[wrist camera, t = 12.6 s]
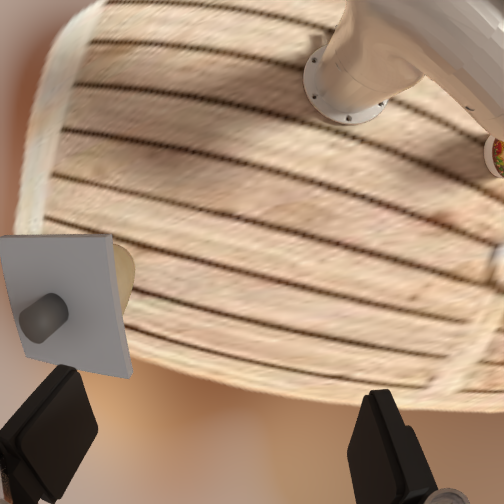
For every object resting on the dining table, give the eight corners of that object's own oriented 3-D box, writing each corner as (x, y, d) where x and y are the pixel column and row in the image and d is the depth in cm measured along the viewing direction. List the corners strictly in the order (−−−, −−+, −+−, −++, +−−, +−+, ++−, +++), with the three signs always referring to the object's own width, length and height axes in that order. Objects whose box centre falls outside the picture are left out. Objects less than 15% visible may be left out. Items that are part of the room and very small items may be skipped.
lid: (4, 235, 32) (-30, 248, 26) (111, 234, 31) (79, 250, 25) (31, 352, 37) (6, 375, 30) (133, 372, 36) (113, 405, 30)
